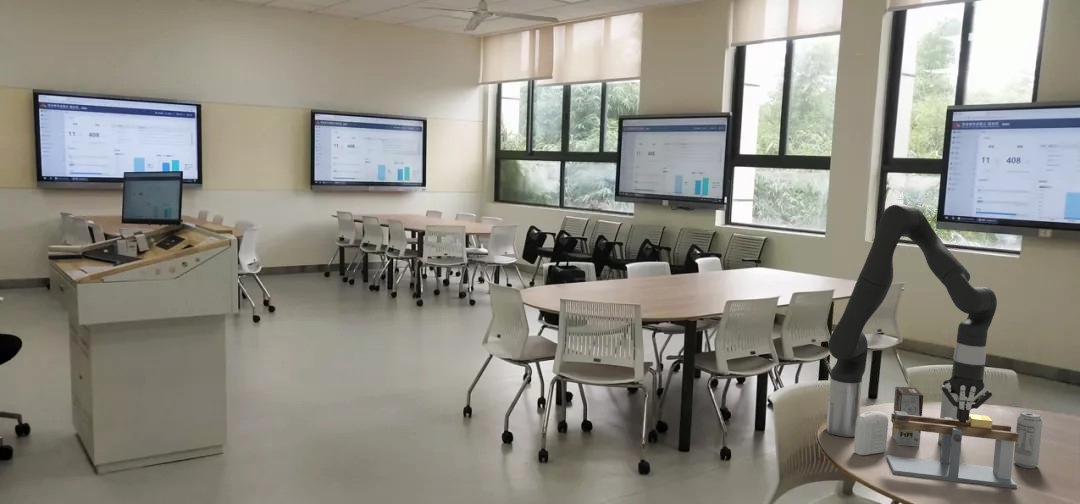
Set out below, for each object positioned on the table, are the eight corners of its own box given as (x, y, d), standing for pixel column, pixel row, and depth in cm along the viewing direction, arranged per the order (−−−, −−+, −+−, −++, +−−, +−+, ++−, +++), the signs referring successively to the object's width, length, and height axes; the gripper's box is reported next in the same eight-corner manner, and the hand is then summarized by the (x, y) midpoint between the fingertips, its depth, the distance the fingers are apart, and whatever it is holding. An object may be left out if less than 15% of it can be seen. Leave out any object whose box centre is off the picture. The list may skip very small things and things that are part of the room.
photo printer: (876, 447, 233) (879, 407, 232) (888, 452, 230) (891, 411, 228) (851, 452, 229) (854, 411, 228) (862, 457, 225) (865, 415, 224)
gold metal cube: (970, 431, 210) (971, 418, 210) (966, 426, 214) (967, 413, 214) (991, 433, 209) (992, 420, 208) (986, 428, 213) (987, 415, 213)
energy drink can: (1043, 468, 220) (1048, 416, 218) (1026, 469, 218) (1031, 418, 217) (1024, 460, 226) (1029, 410, 224) (1008, 462, 224) (1012, 411, 223)
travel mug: (965, 448, 234) (970, 384, 232) (941, 446, 236) (946, 382, 234) (958, 441, 240) (963, 378, 238) (935, 439, 242) (940, 376, 240)
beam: (895, 431, 214) (896, 416, 214) (890, 424, 221) (892, 409, 220) (1017, 445, 206) (1018, 429, 206) (1009, 436, 213) (1010, 421, 213)
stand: (893, 474, 213) (897, 425, 211) (886, 458, 225) (889, 411, 223) (1017, 489, 205) (1021, 437, 203) (1002, 471, 217) (1006, 422, 215)
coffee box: (920, 447, 235) (924, 395, 233) (897, 445, 236) (901, 394, 234) (912, 437, 243) (916, 387, 242) (890, 435, 245) (894, 385, 243)
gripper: (945, 360, 209) (938, 422, 211) (1000, 366, 205) (993, 429, 207) (939, 354, 216) (932, 414, 218) (992, 359, 212) (985, 420, 214)
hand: (962, 421), depth 212 cm, fingers closed
